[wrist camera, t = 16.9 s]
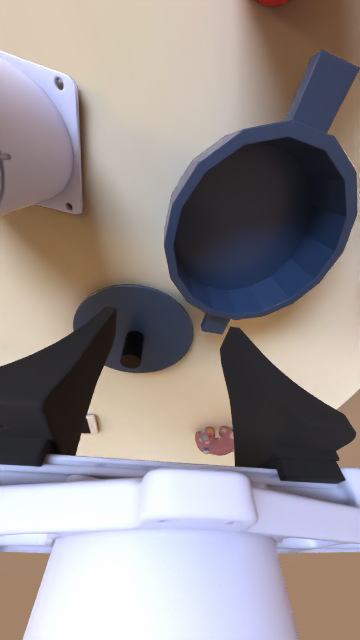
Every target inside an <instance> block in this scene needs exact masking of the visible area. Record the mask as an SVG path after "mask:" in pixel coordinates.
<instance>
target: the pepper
mask: <svg viewBox="0 0 360 640" xmlns="http://www.w3.org/2000/svg"><path fill="white" fill-rule="evenodd" d="M257 1H258V2H259V3H261V4H263V5H266V6H279V5H282V4H284V3H287V2H288V1H290V0H257Z"/></svg>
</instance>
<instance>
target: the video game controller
mask: <svg viewBox="0 0 360 640" xmlns="http://www.w3.org/2000/svg"><path fill="white" fill-rule="evenodd" d="M219 435H220V436H221V438H214V437H215V429H214V428H212V427H207V428H206V429H205V431H204V432H203V433H200V432H197V433H196V435H195V441H196V443H197V446H198V448H199V449H200V451H202V452H203V453H204V454H208V453H211V454H214V455H226V454H228V453H230V452H234V437H233V430H232V431H231V430H230V429H229V428H228V427H226V426H222V427H220V428H219Z"/></svg>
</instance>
